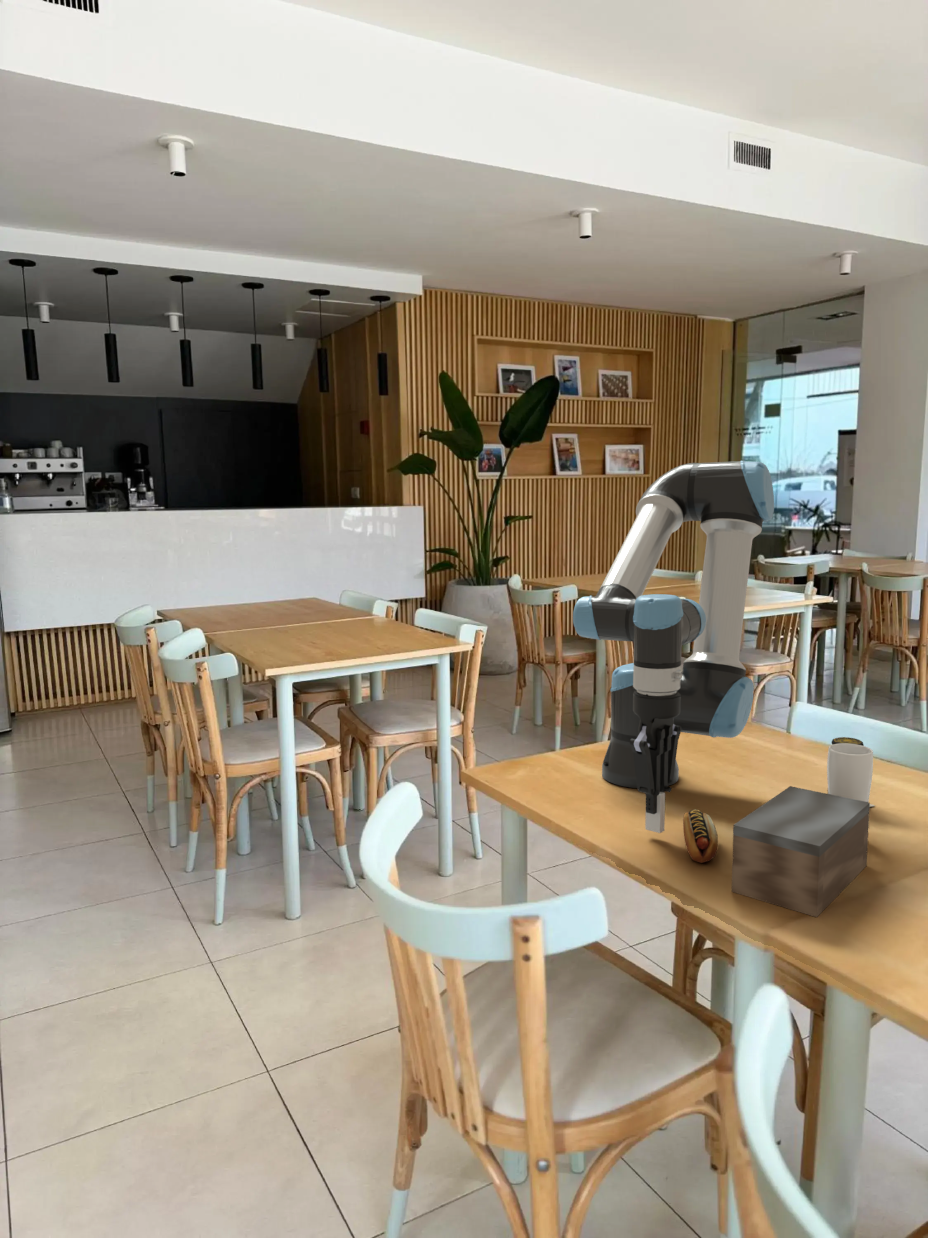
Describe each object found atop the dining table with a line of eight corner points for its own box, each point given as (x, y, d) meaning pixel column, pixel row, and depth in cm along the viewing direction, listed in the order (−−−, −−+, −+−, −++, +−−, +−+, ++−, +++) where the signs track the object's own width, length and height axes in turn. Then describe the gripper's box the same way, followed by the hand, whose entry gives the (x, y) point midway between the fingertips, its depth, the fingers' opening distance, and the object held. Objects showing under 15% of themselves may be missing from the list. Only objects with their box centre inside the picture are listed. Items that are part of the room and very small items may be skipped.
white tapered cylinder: (816, 830, 146) (820, 743, 144) (855, 828, 147) (859, 742, 145) (837, 846, 139) (841, 756, 137) (877, 844, 140) (882, 754, 138)
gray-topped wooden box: (731, 891, 124) (733, 825, 123) (788, 845, 140) (790, 786, 139) (816, 917, 116) (819, 846, 115) (866, 865, 132) (869, 802, 131)
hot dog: (711, 836, 145) (712, 807, 144) (721, 870, 132) (722, 838, 131) (680, 834, 146) (681, 806, 145) (687, 868, 133) (688, 837, 132)
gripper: (657, 701, 133) (655, 848, 137) (697, 686, 143) (694, 824, 146) (615, 694, 138) (614, 836, 141) (656, 680, 148) (654, 813, 151)
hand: (654, 829), depth 144 cm, fingers closed
